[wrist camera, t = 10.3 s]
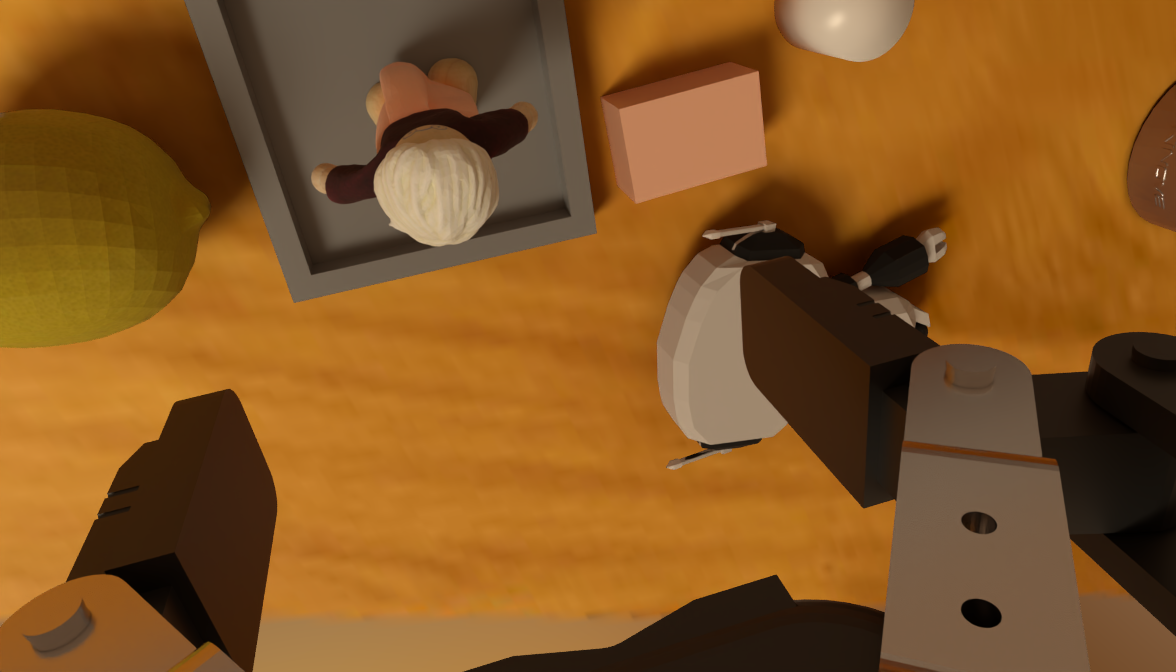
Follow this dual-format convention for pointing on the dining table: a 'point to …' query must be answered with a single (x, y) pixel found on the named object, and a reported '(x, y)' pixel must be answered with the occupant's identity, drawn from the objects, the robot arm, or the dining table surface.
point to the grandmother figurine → (430, 152)
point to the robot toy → (714, 329)
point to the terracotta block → (685, 130)
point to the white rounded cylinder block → (843, 26)
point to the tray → (348, 134)
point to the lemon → (88, 227)
